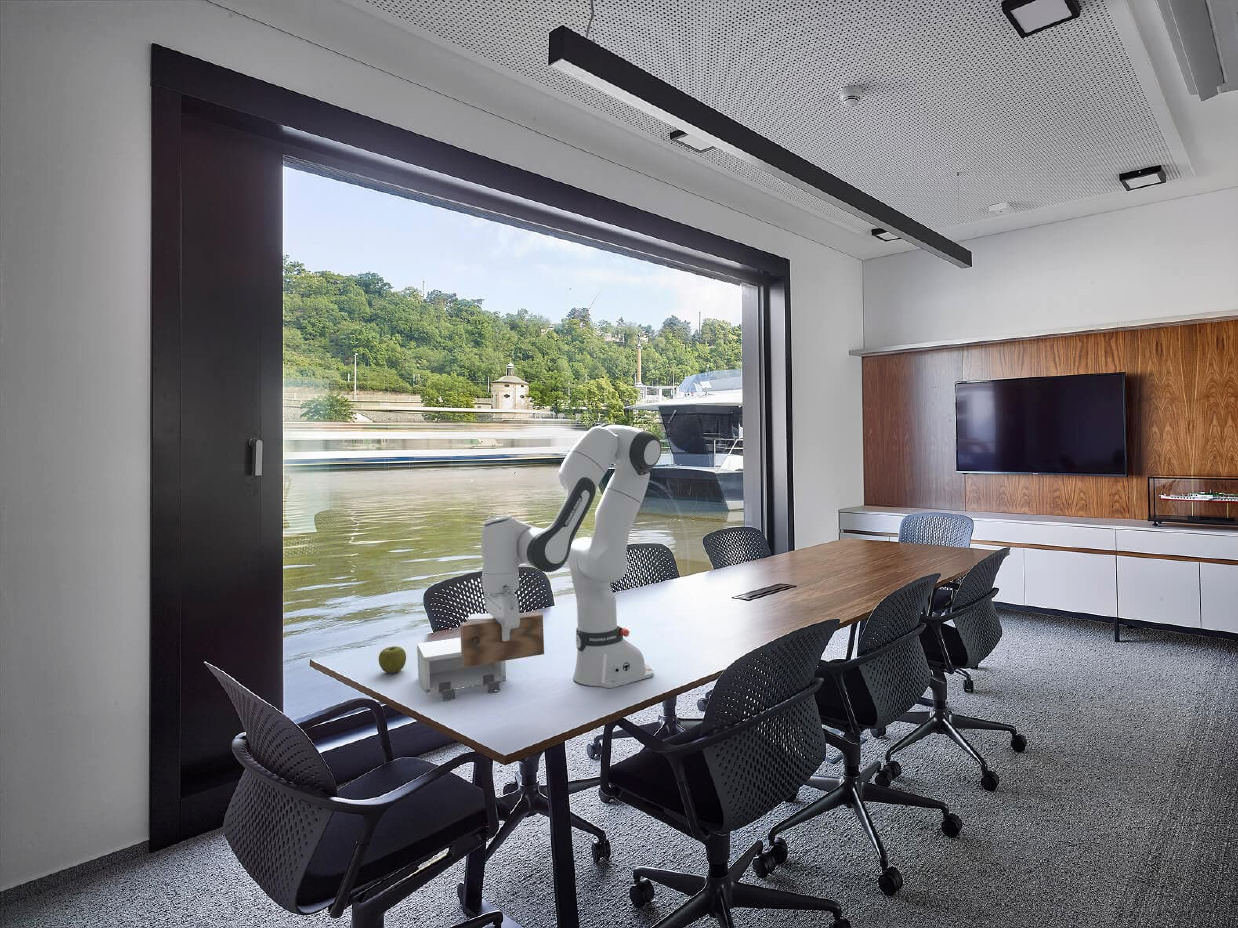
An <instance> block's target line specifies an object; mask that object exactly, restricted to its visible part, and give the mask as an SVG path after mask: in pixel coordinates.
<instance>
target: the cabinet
mask: <svg viewBox="0 0 1238 928" xmlns="http://www.w3.org/2000/svg"><path fill="white" fill-rule="evenodd" d="M416 653H417V675H418V677H417V679H418V680H419V682H421V683H420V685H421V688H422V689H423V691H424V693H426V694H425V695H430V694H429V693H431V694H435V692H437V693H439V692H441V693H442V700H443V701H446V700H445V699H448V700H453V699H452V698H454V699H456V697H455V696H456V693H455V690H456V689H454V688H460V689H463V688H462V687H466V688H468V687H467V686H472V685H478V686H481V685H480V684H483V686H486V685H485V684H488V685H487V692H488V693H492V692H491V691H494V692H496V691H495V690H499V691H500V690H501V689H500V687H501V685H500V682H499V681H501V682H503V681H502V680H506V681H507V670H506V661H499V662H493V663H487V664H481V665H475V666H468V667H464V666H463V665H462V657H461V637H455V638H447V639H441V640H434V641H426V642H420V643H419V642H418V643H416ZM472 687H473V686H472Z"/></svg>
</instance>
